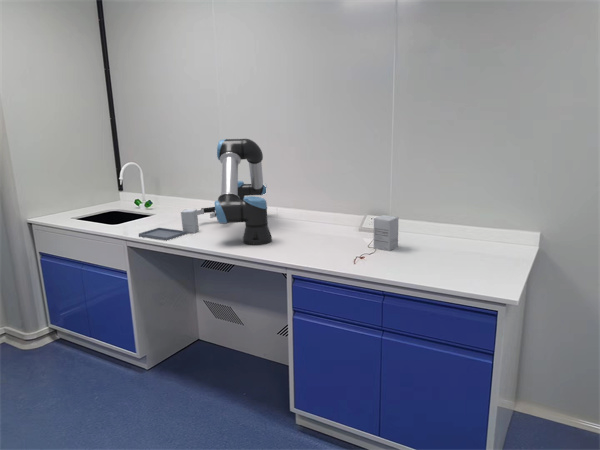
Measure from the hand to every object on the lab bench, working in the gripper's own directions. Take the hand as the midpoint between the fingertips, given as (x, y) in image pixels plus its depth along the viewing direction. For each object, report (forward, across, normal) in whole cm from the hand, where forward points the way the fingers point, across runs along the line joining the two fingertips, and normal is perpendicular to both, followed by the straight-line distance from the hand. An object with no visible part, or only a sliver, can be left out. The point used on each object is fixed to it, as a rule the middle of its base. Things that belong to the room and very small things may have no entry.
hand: (202, 214), depth 253 cm
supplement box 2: (-18, -110, -8) cm, 112 cm away
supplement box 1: (+10, 0, -8) cm, 13 cm away
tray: (+24, +7, -8) cm, 26 cm away
